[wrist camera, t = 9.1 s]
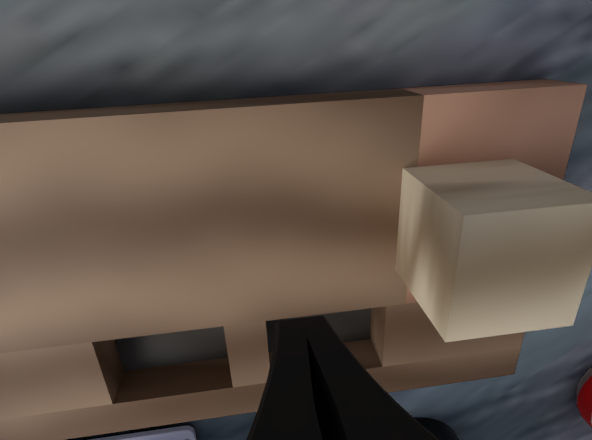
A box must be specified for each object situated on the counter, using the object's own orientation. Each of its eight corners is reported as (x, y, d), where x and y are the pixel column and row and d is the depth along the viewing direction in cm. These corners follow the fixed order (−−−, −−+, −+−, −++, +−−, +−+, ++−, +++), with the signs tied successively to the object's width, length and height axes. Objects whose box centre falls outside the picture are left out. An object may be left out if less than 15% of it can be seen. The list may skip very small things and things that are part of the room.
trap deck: (489, 344, 25) (514, 374, 23) (23, 407, 22) (-1, 449, 20) (544, 79, 18) (587, 84, 16) (-112, 121, 16) (-172, 134, 13)
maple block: (494, 258, 19) (573, 325, 15) (395, 269, 19) (445, 342, 14) (513, 158, 17) (612, 201, 13) (402, 168, 17) (464, 215, 12)
